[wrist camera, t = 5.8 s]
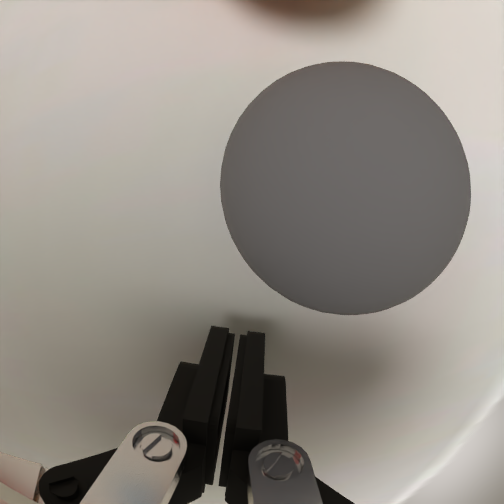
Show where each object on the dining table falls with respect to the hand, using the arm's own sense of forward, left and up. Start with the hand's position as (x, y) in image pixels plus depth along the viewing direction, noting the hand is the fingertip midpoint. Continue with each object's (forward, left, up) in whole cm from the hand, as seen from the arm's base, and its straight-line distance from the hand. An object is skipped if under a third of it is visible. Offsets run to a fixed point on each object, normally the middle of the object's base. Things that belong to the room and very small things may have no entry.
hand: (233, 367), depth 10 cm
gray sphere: (+2, +6, +1) cm, 7 cm away
